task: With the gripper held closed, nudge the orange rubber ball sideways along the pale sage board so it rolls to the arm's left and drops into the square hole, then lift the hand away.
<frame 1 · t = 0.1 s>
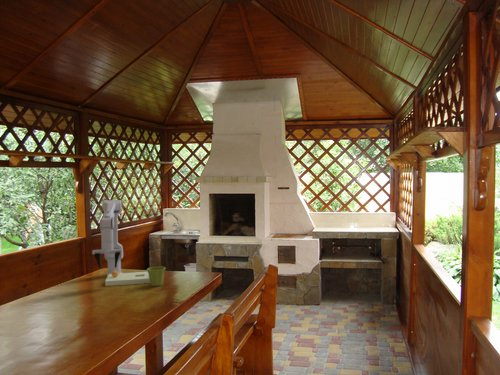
hand: (107, 267, 213), 10 cm above the table, fingers open, 7 cm apart
deck: (130, 280, 226), on the table
ball: (115, 273, 225), point 4 cm above the table, touching deck
plant pot: (156, 285, 216), on the table
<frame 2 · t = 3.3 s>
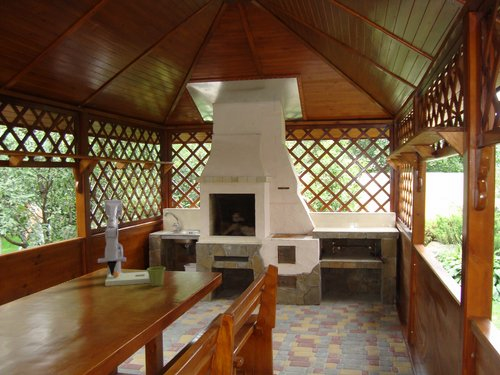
hand: (112, 275, 224), 4 cm above the table, fingers closed, pressing on ball
ball: (115, 273, 225), point 4 cm above the table, tilted 14°, touching deck, gripper
everything else where it was.
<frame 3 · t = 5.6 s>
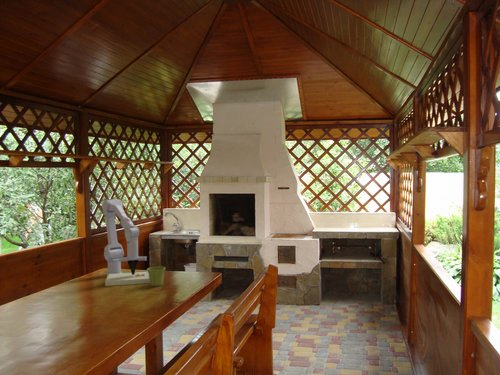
hand: (133, 274, 227), 3 cm above the table, fingers closed
ball: (138, 276, 227), point 2 cm above the table, tilted 40°
everything else where it was.
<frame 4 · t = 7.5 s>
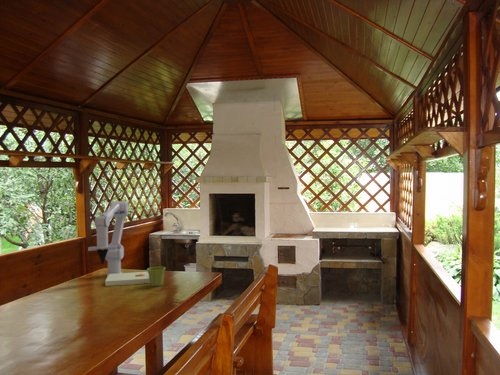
hand: (102, 263, 225), 10 cm above the table, fingers closed
ball: (141, 276, 228), point 2 cm above the table, tilted 88°
everything else where it was.
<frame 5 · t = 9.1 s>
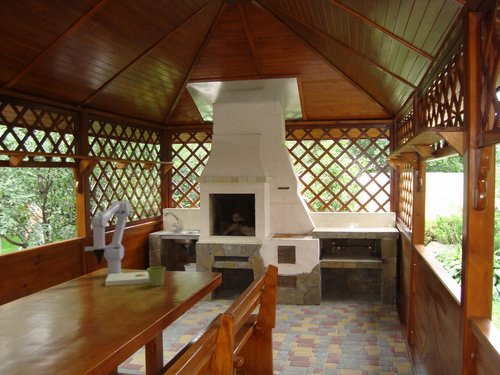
hand: (99, 263, 225), 10 cm above the table, fingers closed
ball: (140, 276, 228), point 2 cm above the table, tilted 79°
everything else where it was.
at the end: ball 0.6 cm from the target spot in the deck, point 1.7 cm above the deck's base; ball touching table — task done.
